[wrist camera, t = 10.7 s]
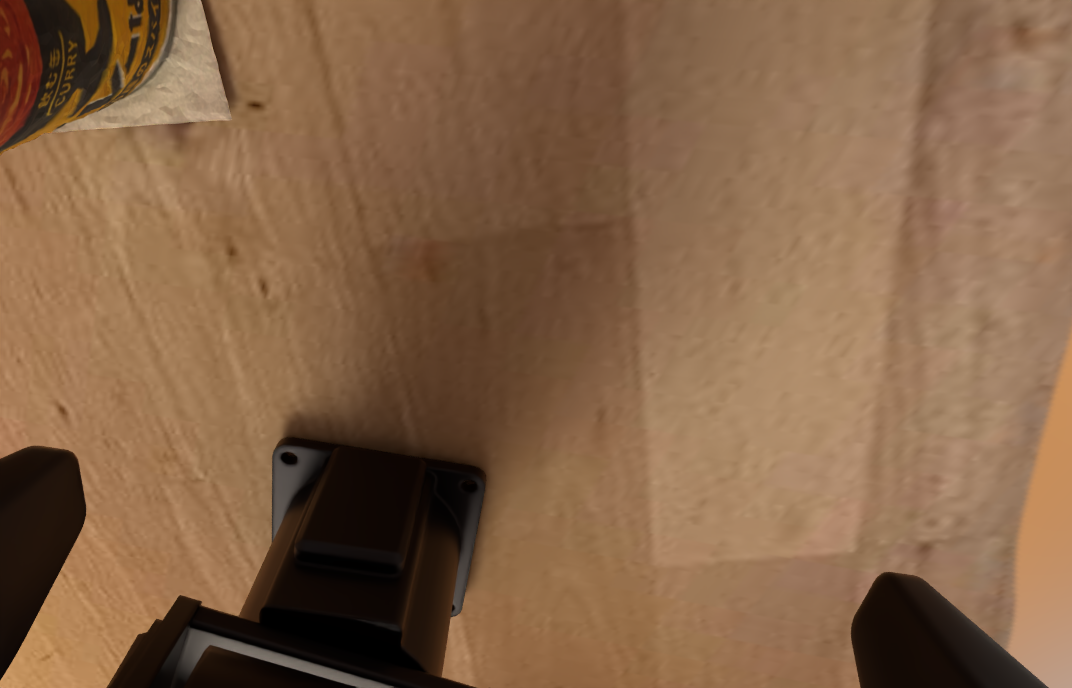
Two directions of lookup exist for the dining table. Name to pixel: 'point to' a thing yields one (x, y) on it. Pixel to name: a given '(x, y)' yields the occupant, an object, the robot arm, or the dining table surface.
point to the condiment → (104, 66)
